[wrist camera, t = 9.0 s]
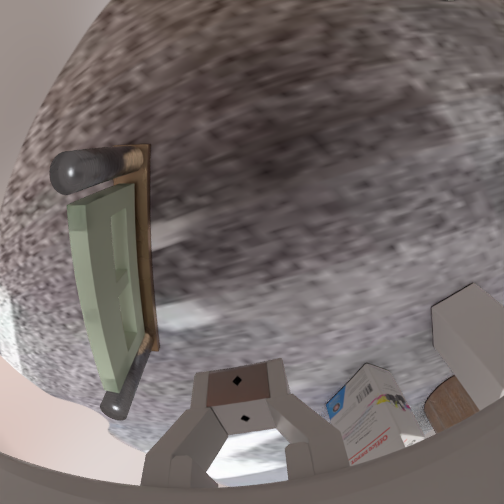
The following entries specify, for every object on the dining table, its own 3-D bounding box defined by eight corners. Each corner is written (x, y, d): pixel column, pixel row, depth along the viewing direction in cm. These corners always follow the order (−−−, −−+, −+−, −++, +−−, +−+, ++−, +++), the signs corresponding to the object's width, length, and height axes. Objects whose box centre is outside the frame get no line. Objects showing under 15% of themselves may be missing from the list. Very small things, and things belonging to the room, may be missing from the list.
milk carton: (432, 346, 32) (505, 452, 14) (430, 306, 30) (524, 418, 12) (472, 322, 31) (551, 411, 14) (473, 281, 29) (572, 370, 11)
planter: (430, 420, 39) (475, 516, 18) (417, 400, 36) (473, 514, 15) (474, 387, 37) (530, 475, 16) (467, 361, 34) (539, 464, 13)
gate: (119, 183, 23) (66, 205, 15) (134, 183, 23) (85, 205, 15) (132, 332, 28) (104, 390, 20) (145, 334, 28) (119, 393, 20)
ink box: (351, 411, 36) (379, 497, 22) (324, 404, 35) (348, 498, 21) (391, 370, 33) (437, 458, 19) (366, 360, 32) (410, 458, 18)
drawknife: (117, 145, 23) (44, 153, 13) (150, 144, 23) (89, 148, 13) (133, 343, 30) (100, 416, 20) (159, 347, 31) (133, 423, 20)
